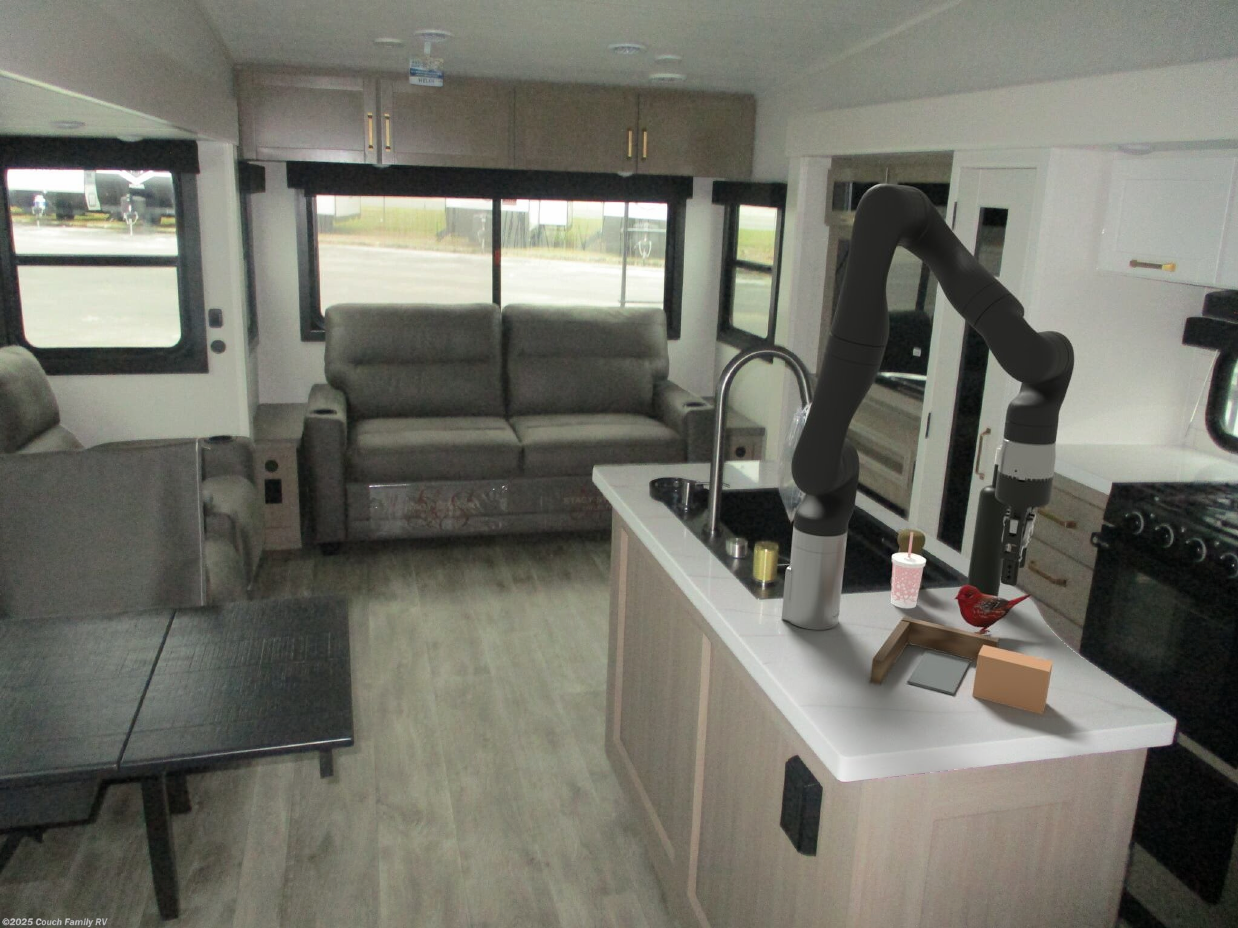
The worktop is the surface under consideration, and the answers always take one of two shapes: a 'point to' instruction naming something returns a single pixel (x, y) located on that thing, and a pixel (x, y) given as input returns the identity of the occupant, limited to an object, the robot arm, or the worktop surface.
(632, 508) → the worktop surface
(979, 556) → the wine bottle
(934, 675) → the slate pad
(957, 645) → the walnut corner
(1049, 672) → the terracotta block
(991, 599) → the decorative bird figurine
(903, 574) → the beverage cup
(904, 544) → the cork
